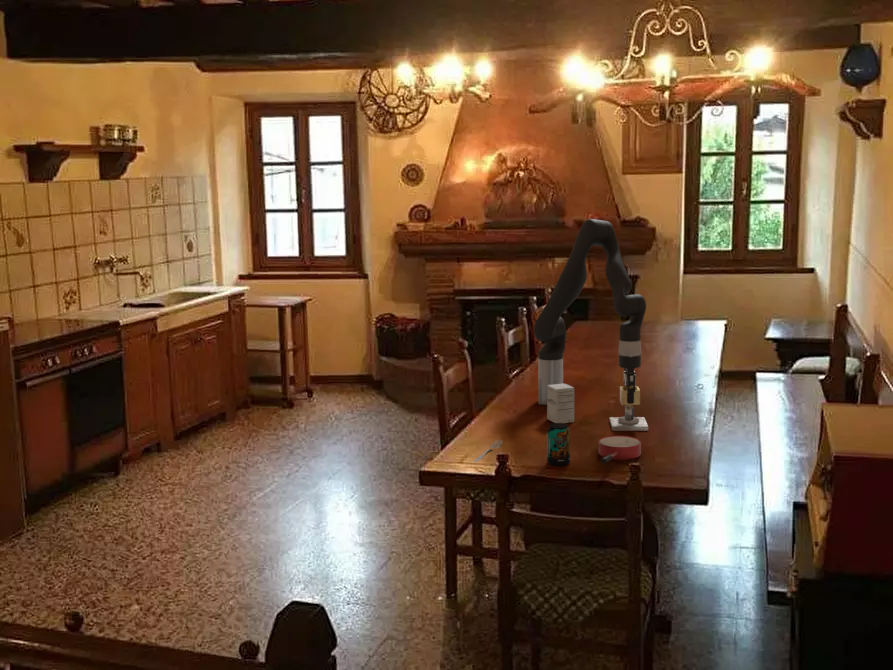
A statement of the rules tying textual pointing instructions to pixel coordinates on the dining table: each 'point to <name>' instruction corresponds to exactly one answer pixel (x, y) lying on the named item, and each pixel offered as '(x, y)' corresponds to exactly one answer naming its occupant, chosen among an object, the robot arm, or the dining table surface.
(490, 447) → the fork
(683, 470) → the dining table surface
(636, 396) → the box
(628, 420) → the shaft stand
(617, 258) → the robot arm
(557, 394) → the supplement box
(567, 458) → the beverage can
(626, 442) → the frying pan
